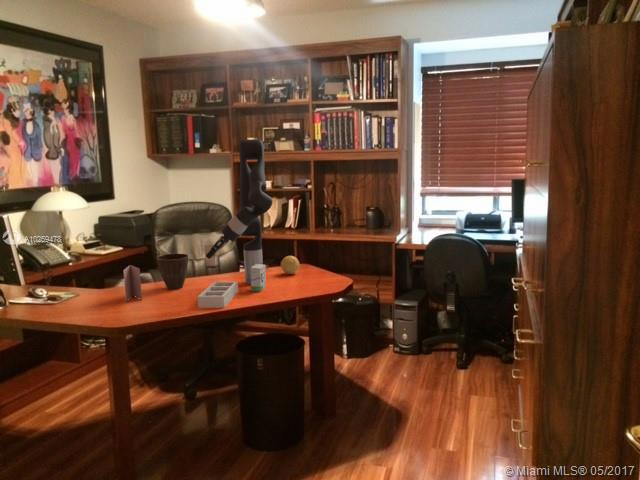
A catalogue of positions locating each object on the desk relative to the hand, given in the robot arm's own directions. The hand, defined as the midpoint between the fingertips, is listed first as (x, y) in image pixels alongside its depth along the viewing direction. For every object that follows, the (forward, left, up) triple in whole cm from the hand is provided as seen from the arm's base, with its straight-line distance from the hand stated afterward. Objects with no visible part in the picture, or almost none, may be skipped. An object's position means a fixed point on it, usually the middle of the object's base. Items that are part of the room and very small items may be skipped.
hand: (209, 256), depth 233 cm
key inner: (-16, +1, -19) cm, 25 cm away
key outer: (0, +1, -19) cm, 19 cm away
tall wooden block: (0, +1, -5) cm, 5 cm away
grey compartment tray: (-8, +1, -22) cm, 23 cm away
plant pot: (-29, -27, -22) cm, 45 cm away
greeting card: (-10, -39, -22) cm, 46 cm away
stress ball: (-57, +27, -22) cm, 67 cm away
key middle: (-8, +1, -19) cm, 21 cm away
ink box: (-25, +16, -22) cm, 37 cm away
